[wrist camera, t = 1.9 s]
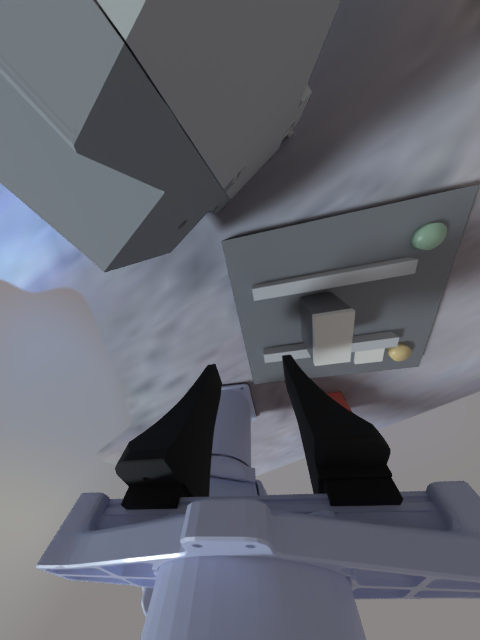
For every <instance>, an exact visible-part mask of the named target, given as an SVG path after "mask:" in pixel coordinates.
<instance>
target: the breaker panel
mask: <svg viewBox="0 0 480 640" xmlns="http://www.w3.org/2000/svg"><path fill="white" fill-rule="evenodd" d="M478 186H479V185H473V186H468V187H463V188H458V189H453V190H449V191H444V192H440V193H435V194H431V195H426V196H422V197H417V198H413V199H408V200H404V201H399V202H395V203H390V204H386V205H381V206H377V207H372V208H368V209H363V210H358V211H354V212H349V213H345V214H340V215H336V216H331V217H327V218H322V219H318V220H313V221H309V222H304V223H300V224H295V225H291V226H286V227H282V228H277V229H273V230H268V231H264V232H259V233H255V234H250V235H246V236H241V237H237V238H232V239H228V240H223V241H221V242H222V246H223V251H224V255H225V260H226V264H227V268H228V273H229V277H230V281H231V286H232V290H233V295H234V299H235V303H236V308H237V312H238V317H239V321H240V325H241V330H242V334H243V338H244V343H245V347H246V352H247V356H248V360H249V365H250V369H251V374H252V378H253V382H254V384H263V383H272V382H281V381H285V377H284V370H283V361H282V356H283V355H292V357H293V358H294V360H295V361H296V363H297V364H298V365H299V367H300V368H301V369H302V370H303V371H304V372H305V374H306V375H307V376H308V377H309V378H318V377H327V376H336V375H346V374H355V373H364V372H373V371H382V370H392V369H401V368H410V367H419V365H420V362H421V359H422V356H423V353H424V350H425V347H426V343H427V340H428V337H429V334H430V331H431V328H432V325H433V322H434V319H435V316H436V313H437V310H438V307H439V304H440V301H441V298H442V295H443V292H444V289H445V286H446V283H447V280H448V277H449V274H450V271H451V268H452V265H453V262H454V259H455V256H456V253H457V250H458V247H459V244H460V241H461V237H462V234H463V231H464V228H465V225H466V222H467V219H468V216H469V213H470V210H471V207H472V204H473V201H474V198H475V195H476V192H477V189H478ZM327 292H332V293H333V294H334V295H336V296H337V297H338V298H339V299H341V300H342V301H343V302H345V303H346V304H347V305H348V306H350V307H351V308H352V309H354V310H355V320H354V330H353V340H352V349H351V359H350V362H346V363H337V364H328V365H320V366H315V365H314V363H313V361H312V359H311V357H310V355H309V353H308V351H307V349H306V346H305V344H304V342H303V340H302V334H301V315H300V297H304V296H310V295H316V294H321V293H327Z"/></svg>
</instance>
